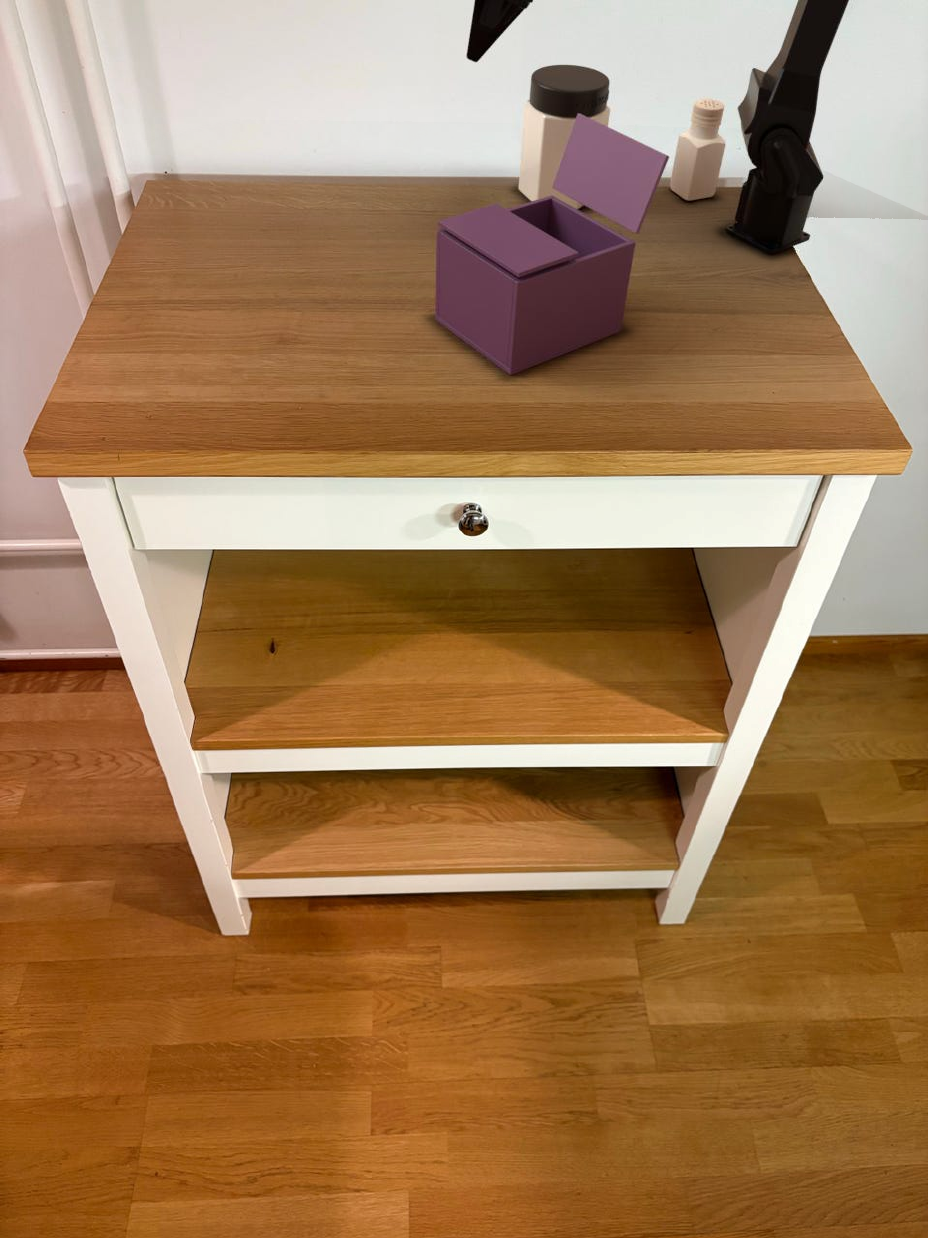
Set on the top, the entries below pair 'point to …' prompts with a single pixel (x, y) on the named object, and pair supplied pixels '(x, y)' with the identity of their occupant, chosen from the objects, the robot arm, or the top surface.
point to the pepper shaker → (699, 153)
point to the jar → (557, 123)
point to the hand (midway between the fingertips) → (475, 43)
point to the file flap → (609, 172)
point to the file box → (530, 281)
